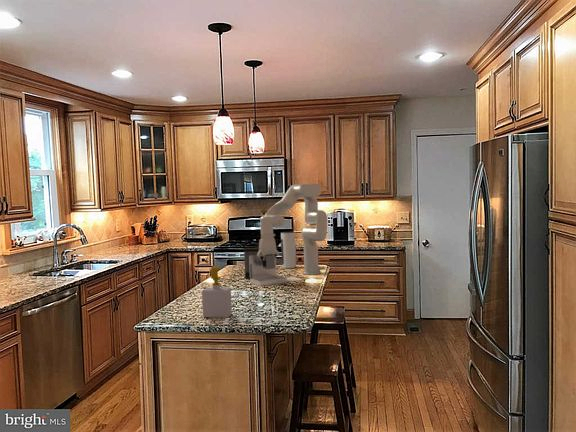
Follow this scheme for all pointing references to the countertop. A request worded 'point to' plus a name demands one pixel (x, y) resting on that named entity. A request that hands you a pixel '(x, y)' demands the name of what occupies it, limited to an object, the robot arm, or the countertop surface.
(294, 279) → the flat beige panel
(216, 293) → the soap bottle
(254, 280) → the case
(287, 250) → the speaker
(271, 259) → the block
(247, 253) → the electronic device
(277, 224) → the robot arm
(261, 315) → the countertop surface
